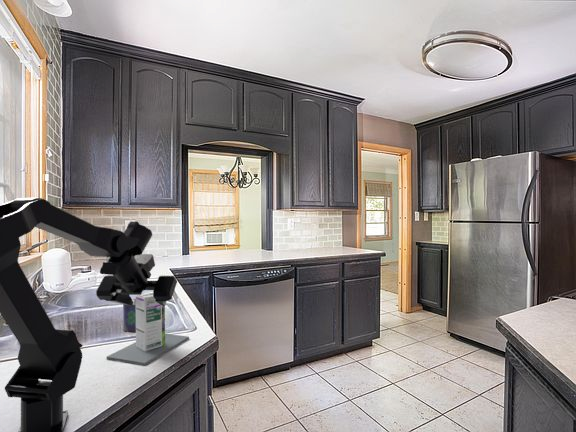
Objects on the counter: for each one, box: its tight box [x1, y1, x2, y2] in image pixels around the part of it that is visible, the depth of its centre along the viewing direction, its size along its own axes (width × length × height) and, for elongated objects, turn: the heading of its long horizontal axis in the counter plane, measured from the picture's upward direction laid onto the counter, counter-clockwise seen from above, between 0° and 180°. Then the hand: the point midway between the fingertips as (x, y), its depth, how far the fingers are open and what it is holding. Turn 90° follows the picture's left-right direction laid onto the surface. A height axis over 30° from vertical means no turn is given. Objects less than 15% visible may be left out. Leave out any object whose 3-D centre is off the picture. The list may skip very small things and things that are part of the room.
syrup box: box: [135, 291, 166, 352], centre depth 87 cm, size 6×6×14 cm
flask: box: [122, 298, 136, 334], centre depth 100 cm, size 9×3×11 cm, turn 76°
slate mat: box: [106, 333, 190, 366], centre depth 87 cm, size 18×12×1 cm, turn 163°
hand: (148, 304), depth 86 cm, fingers open, 9 cm apart
